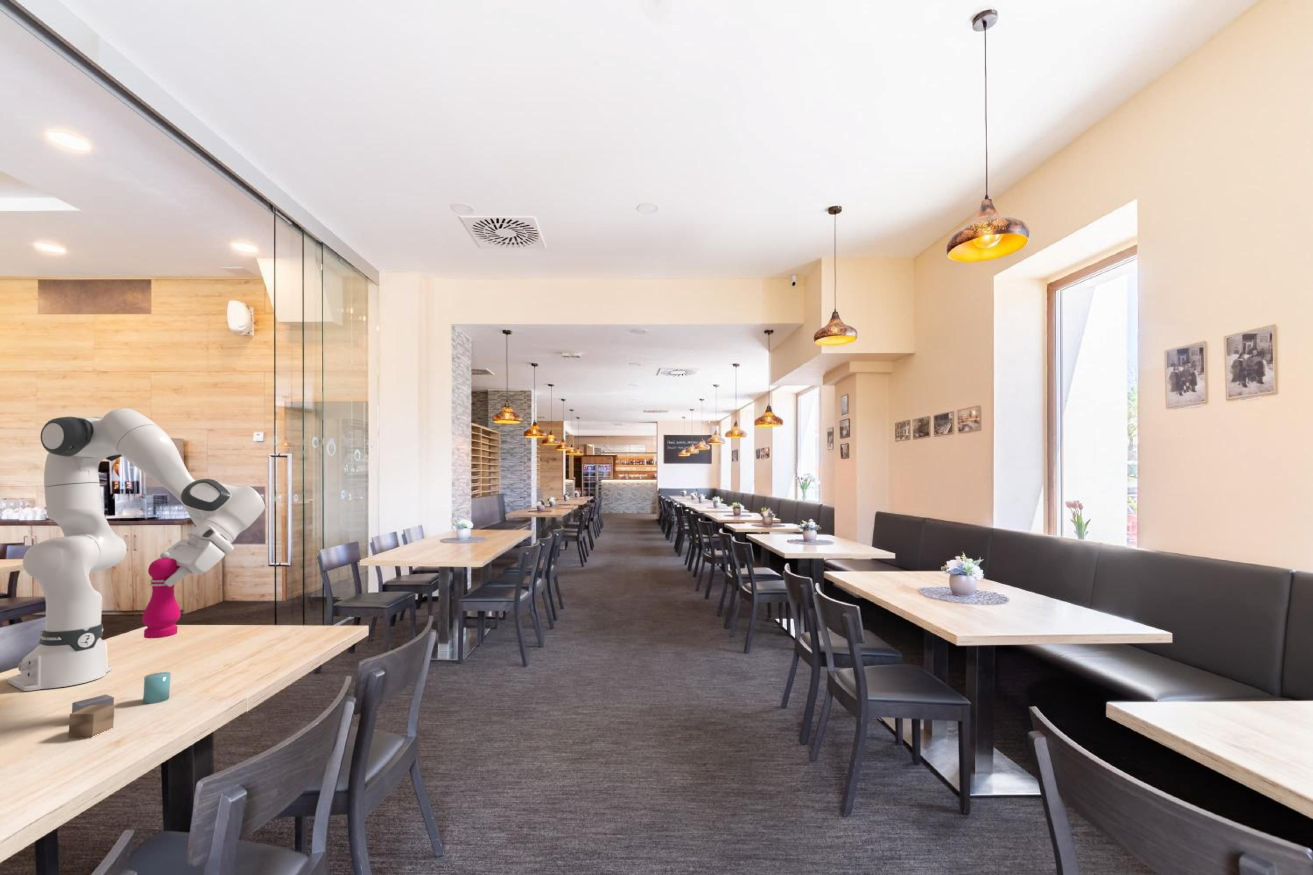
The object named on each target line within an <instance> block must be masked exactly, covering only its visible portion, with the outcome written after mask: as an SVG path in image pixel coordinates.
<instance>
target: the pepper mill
mask: <svg viewBox="0 0 1313 875" xmlns="http://www.w3.org/2000/svg"><path fill="white" fill-rule="evenodd" d="M169 556H170V554H169V553H168V552H166V551H163V552H161V554H160V556H159V557H161V558H162V559H158V558H157V559H158V560H157V559H156V560H154V561H152V562H151V563H150V564H149V567H148V569H147V572H148V575H149V576H150V578H151V579H150V584H149V585H150V586H151V587H152V588H151V589H152V591H151V597H150V600H149V601H148V604H147V606H146V608H145V609H144V612H143V614H142V616H141V617H142V618H141V621H142V624H143V625H145V626H146V627H147V628H145V629H144V630H143V638H145V639H150V640H151V639H161V638H163V639H164V638H167V637H173V636H175V635H177V634H178V625H176V623H177V622H178V621H179V620H180V618H181V609H180V606H179V604H178V602H177V599H176V598H175V589H174V588H175V585H176V584H177V582H178V581H177V582H176V583H175V584H174V585H173V586H171V587H169V586H166V585H165V584H164V583H163V581H164V580H165V579H166V578H167V577H168V576H169V577H170V576H171V575H173V574H174V573H175V572H177V570H178V569H179V568H180V566H177V564H176V563H177V561H176V560H175V559H171V558H169Z"/></svg>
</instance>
